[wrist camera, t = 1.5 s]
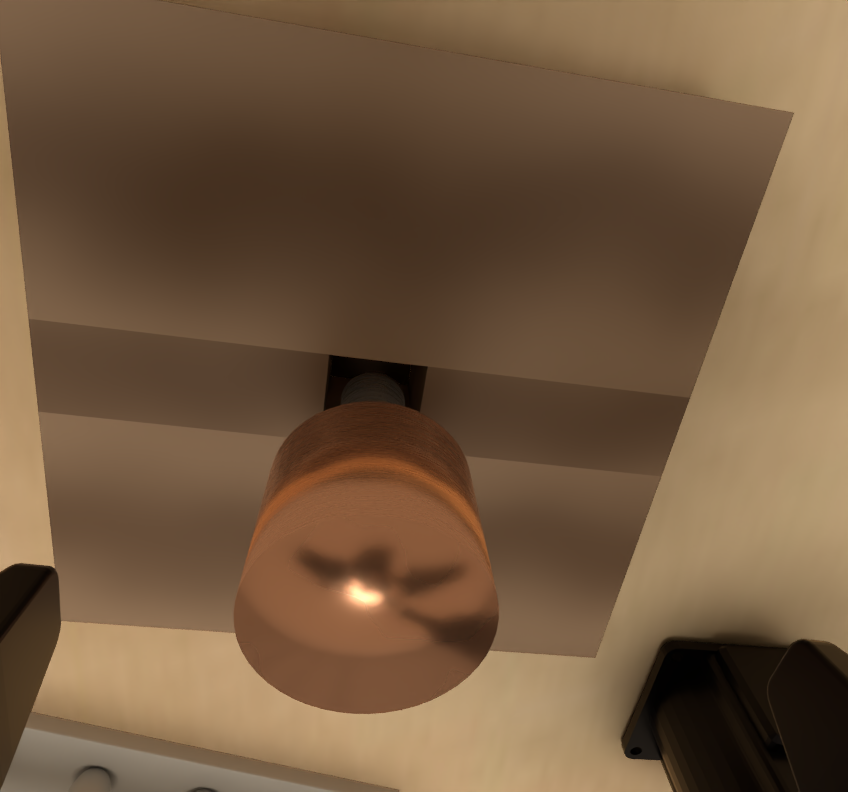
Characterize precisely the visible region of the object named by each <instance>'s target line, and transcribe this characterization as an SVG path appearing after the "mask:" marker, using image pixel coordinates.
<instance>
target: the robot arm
mask: <svg viewBox="0 0 848 792" xmlns="http://www.w3.org/2000/svg"><path fill="white" fill-rule="evenodd" d="M60 627H61V612H60V593H59V577H58V573H57V571H56V569H54V568H53V567H51V566H44V565H33V564H23V563H19V564H14V565H12V566H9V567H7V568H6V569H4V570H3V571H1V572H0V790H1V788H2V785H3V783H4V781H5V778H6V776H7V773H8V771H9V768H10V766H11V763H12V761H13V758H14V755H15V753H16V750H17V747H18V745H19V742H20V739H21V737H22V734H23V731H24V729H25V726H26V724H27V721H28V718H29V716H30V713H31V710H32V708H33V705H34V702H35V700H36V697H37V694H38V692H39V689H40V686H41V684H42V681H43V678H44V676H45V673H46V671H47V668H48V665H49V663H50V660H51V657H52V655H53V652H54V649H55V647H56V644H57V641H58V637H59V633H60ZM622 748H623V751H624V754H625V756H626V757H628V758H631V759H646V760H661V763H662V765H663V768H664V770H665V773H666V775H667V778H668V780H669V783H670V785H671V788H672V790H673V792H848V654H847V653H845V652H844V651H843V650H841V649H840V648H838V647H837V646H835V645H834V644H832V643H829V642H826V641H819V640H808V639H800V640H797V641H795V642H793V643H792V645H791V646H790V647H789V649H787V648H773V647H759V646H746V645H732V644H718V643H705V642H691V641H670V642H667V643H666V644H665V645H663V647H662V648H661V650H660V652H659V655H658V657H657V660H656V662H655V664H654V667H653V669H652V671H651V674H650V676H649V679H648V681H647V683H646V686H645V688H644V691H643V693H642V695H641V698H640V700H639V702H638V705H637V707H636V710H635V712H634V714H633V717H632V719H631V721H630V724H629V726H628V729H627V731H626V733H625V736H624V738H623V741H622Z"/></svg>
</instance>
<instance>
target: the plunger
mask: <svg viewBox="0 0 848 792" xmlns="http://www.w3.org/2000/svg"><path fill="white" fill-rule="evenodd" d="M233 615H234V629H235V633H236V637H237V641H238V643H239V645H240V648H241V650H242V652H243V654H244V656H245V657H246V659H247V661H248V662H249V664H250V665H251V666H252V667H253V668H254V670H255V671H256V672H257V673H258V674H259V675H260V676H261V677H262V678H263V679H264V680H266V681H267V682H268V683H269V684H270V685H272V686H273V687H275V688H276V689H277V690H279V691H280V692H282V693H284V694H286V695H288V696H289V697H291V698H293V699H295V700H298V701H300V702H303V703H305V704H308V705H311V706H314V707H318V708H321V709H325V710H331V711H336V712H343V713H353V714H373V713H385V712H391V711H397V710H402V709H406V708H410V707H414V706H417V705H420V704H422V703H425V702H428V701H430V700H433V699H435V698H437V697H439V696H441V695H443V694H445V693H446V692H448V691H449V690H451V689H453V688H454V687H456V686H457V685H458V684H460V683H461V682H462V681H463V680H465V679H466V678H467V677H468V676H469V675H470V674H471V673H472V672H473V671H474V670H475V669H476V668H477V667H478V666H479V665H480V663H481V662H482V660H483V659H484V658H485V656H486V655H487V653H488V651H489V649H490V647H491V646H492V643H493V641H494V638H495V635H496V632H497V627H498V621H499V604H498V598H497V592H496V588H495V583H494V579H493V574H492V570H491V565H490V560H489V556H488V551H487V547H486V542H485V538H484V533H483V529H482V524H481V520H480V515H479V511H478V506H477V501H476V497H475V492H474V488H473V483H472V479H471V474H470V470H469V466H468V463H467V460H466V457H465V455H464V453H463V451H462V450H461V448H460V446H459V445H458V443H457V442H456V441H455V439H454V438H453V437H452V436H451V435H450V434H449V432H448V431H447V430H446V429H445V428H443V427H442V426H441V425H440V424H438V423H437V422H436V421H435V420H433V419H431V418H429V417H428V416H426V415H424V414H423V413H420V412H418V411H416V410H413V409H411V408H408V407H405V397H404V393H403V390H402V388H401V386H400V385H399V384H398V383H397V381H396V380H394V379H393V378H392V377H390V376H388V375H386V374H383V373H379V372H367V373H363V374H360V375H357V376H356V377H354V378H352V379H351V380H350V381H349V382H348V383H347V384H346V386H345V387H344V389H343V392H342V396H341V403H340V405H339V406H336V407H333V408H330V409H327V410H325V411H323V412H320V413H318V414H316V415H314V416H313V417H311V418H309V419H308V420H306V421H305V422H303V423H302V424H301V425H300V426H298V427H297V428H296V429H295V430H294V431H293V432H292V433H291V434H290V435H289V436H288V437H287V438H286V439H285V441H284V442H283V444H282V445H281V447H280V448H279V450H278V452H277V454H276V456H275V458H274V460H273V463H272V467H271V470H270V473H269V477H268V481H267V485H266V488H265V492H264V496H263V499H262V503H261V507H260V510H259V514H258V518H257V521H256V525H255V529H254V532H253V536H252V540H251V543H250V547H249V551H248V555H247V558H246V562H245V566H244V569H243V573H242V577H241V580H240V584H239V588H238V591H237V595H236V599H235V605H234V613H233Z"/></svg>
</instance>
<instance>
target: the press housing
mask: <svg viewBox="0 0 848 792" xmlns="http://www.w3.org/2000/svg"><path fill="white" fill-rule="evenodd" d="M0 54H1V64H2V73H3V83H4V92H5V101H6V111H7V120H8V130H9V139H10V149H11V158H12V167H13V177H14V186H15V196H16V205H17V215H18V224H19V233H20V243H21V252H22V262H23V271H24V281H25V290H26V299H27V309H28V318H29V328H30V337H31V347H32V356H33V365H34V375H35V384H36V394H37V403H38V412H39V422H40V431H41V441H42V450H43V460H44V469H45V478H46V488H47V497H48V507H49V516H50V526H51V535H52V544H53V554H54V563H55V569H56V571H57V573H58V577H59V593H60V612H61V621H69V622H84V623H98V624H113V625H128V626H142V627H157V628H171V629H186V630H200V631H215V632H229V633H235V629H234V615H233V613H234V605H235V599H236V595H237V591H238V588H239V584H240V580H241V577H242V573H243V569H244V566H245V562H246V558H247V555H248V551H249V547H250V543H251V540H252V536H253V532H254V529H255V525H256V521H257V518H258V514H259V510H260V507H261V503H262V499H263V496H264V492H265V488H266V485H267V481H268V477H269V473H270V470H271V467H272V463H273V460H274V458H275V456H276V454H277V452H278V450H279V448H280V447H281V445H282V444H283V442H284V441H285V439H286V438H287V437H288V436H289V435H290V434H291V433H292V432H293V431H294V430H295V429H296V428H297V427H298V426H300V425H301V424H302V423H303V422H305V421H306V420H308V419H309V418H311V417H313V416H314V415H316V414H318V413H320V412H323V411H325V410H327V409H330V408H333V407H336V406H339V405H340V403H341V396H342V392H343V389H344V387H345V386H346V384H347V383H348V382H349V381H350V380H351V379H352V378H345V377H337V376H331V368H332V358H333V355H336V356H345V357H353V358H361V359H370V360H378V361H386V362H395V363H403V364H411V368H410V374H409V380H408V385H406V384H399V385H400V386H401V388H402V390H403V393H404V397H405V407H408V408H411V409H413V410H416V411H418V412H420V413H423V414H424V415H426V416H428V417H429V418H431V419H433V420H435V421H436V422H437V423H438V424H440V425H441V426H442V427H443V428H445V429H446V430H447V431H448V432H449V434H450V435H451V436H452V437H453V438H454V439H455V441H456V442H457V443H458V445H459V446H460V448H461V450H462V451H463V453H464V455H465V457H466V460H467V463H468V466H469V470H470V474H471V479H472V483H473V488H474V492H475V497H476V501H477V506H478V511H479V515H480V520H481V524H482V529H483V533H484V538H485V542H486V547H487V551H488V556H489V560H490V565H491V570H492V574H493V579H494V583H495V588H496V592H497V598H498V604H499V621H498V627H497V632H496V635H495V638H494V641H493V643H492V646H491V647H490V649H489V650H491V651H505V652H520V653H534V654H549V655H563V656H578V657H592V658H595V657H596V654H597V652H598V649H599V646H600V643H601V641H602V638H603V635H604V632H605V630H606V627H607V624H608V621H609V619H610V616H611V613H612V610H613V608H614V605H615V602H616V599H617V597H618V594H619V591H620V589H621V586H622V583H623V580H624V578H625V575H626V572H627V569H628V567H629V564H630V561H631V558H632V556H633V553H634V550H635V547H636V545H637V542H638V539H639V536H640V534H641V531H642V528H643V525H644V523H645V520H646V517H647V515H648V512H649V509H650V506H651V504H652V501H653V498H654V495H655V493H656V490H657V487H658V484H659V482H660V479H661V476H662V473H663V471H664V468H665V465H666V462H667V460H668V457H669V454H670V451H671V449H672V446H673V443H674V440H675V438H676V435H677V432H678V430H679V427H680V424H681V421H682V419H683V416H684V413H685V410H686V408H687V405H688V402H689V399H690V397H691V394H692V391H693V388H694V386H695V383H696V380H697V377H698V375H699V372H700V369H701V366H702V364H703V361H704V358H705V356H706V353H707V350H708V347H709V345H710V342H711V339H712V336H713V334H714V331H715V328H716V325H717V323H718V320H719V317H720V314H721V312H722V309H723V306H724V303H725V301H726V298H727V295H728V292H729V290H730V287H731V284H732V281H733V279H734V276H735V273H736V271H737V268H738V265H739V262H740V260H741V257H742V254H743V251H744V249H745V246H746V243H747V240H748V238H749V235H750V232H751V229H752V227H753V224H754V221H755V218H756V216H757V213H758V210H759V207H760V205H761V202H762V199H763V196H764V194H765V191H766V188H767V186H768V183H769V180H770V177H771V175H772V172H773V169H774V166H775V164H776V161H777V158H778V155H779V153H780V150H781V147H782V144H783V142H784V139H785V136H786V133H787V131H788V128H789V125H790V122H791V120H792V117H793V114H794V113H792V112H786V111H781V110H775V109H769V108H764V107H758V106H752V105H747V104H741V103H736V102H730V101H724V100H719V99H713V98H707V97H702V96H696V95H690V94H685V93H679V92H673V91H668V90H662V89H657V88H651V87H645V86H640V85H634V84H628V83H623V82H617V81H611V80H606V79H600V78H595V77H589V76H583V75H578V74H572V73H566V72H561V71H555V70H549V69H544V68H538V67H532V66H527V65H521V64H516V63H510V62H504V61H499V60H493V59H487V58H482V57H476V56H470V55H465V54H459V53H454V52H448V51H442V50H437V49H431V48H425V47H420V46H414V45H408V44H403V43H397V42H392V41H386V40H380V39H375V38H369V37H363V36H358V35H352V34H346V33H341V32H335V31H329V30H324V29H318V28H313V27H307V26H301V25H296V24H290V23H284V22H279V21H273V20H267V19H262V18H256V17H251V16H245V15H239V14H234V13H228V12H222V11H217V10H211V9H205V8H200V7H194V6H188V5H183V4H177V3H172V2H166V1H160V0H0Z"/></svg>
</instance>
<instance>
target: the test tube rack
mask: <svg viewBox="0 0 848 792" xmlns="http://www.w3.org/2000/svg"><path fill="white" fill-rule="evenodd" d="M0 792H399V790H396V789H391V788H387V787H382V786H377V785H373V784H368V783H363V782H358V781H354V780H349V779H344V778H340V777H335V776H330V775H325V774H321V773H316V772H311V771H306V770H302V769H297V768H292V767H288V766H283V765H278V764H274V763H269V762H264V761H259V760H255V759H250V758H245V757H241V756H236V755H231V754H226V753H222V752H217V751H212V750H208V749H203V748H198V747H194V746H189V745H184V744H179V743H175V742H170V741H165V740H161V739H156V738H151V737H146V736H142V735H137V734H132V733H128V732H123V731H118V730H114V729H109V728H104V727H99V726H95V725H90V724H85V723H81V722H76V721H71V720H66V719H62V718H57V717H52V716H48V715H43V714H38V713H34V712H31V713H30V716H29V718H28V721H27V724H26V726H25V729H24V731H23V734H22V737H21V739H20V742H19V745H18V747H17V750H16V753H15V755H14V758H13V761H12V763H11V766H10V768H9V771H8V773H7V776H6V778H5V781H4V783H3V785H2V788H1V790H0Z"/></svg>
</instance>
